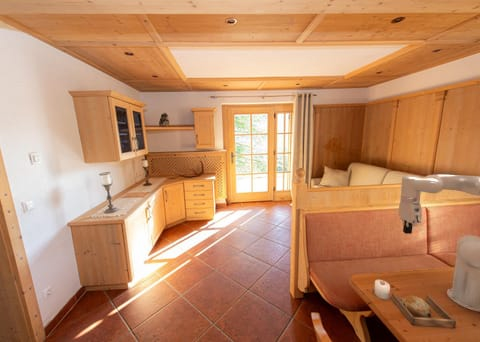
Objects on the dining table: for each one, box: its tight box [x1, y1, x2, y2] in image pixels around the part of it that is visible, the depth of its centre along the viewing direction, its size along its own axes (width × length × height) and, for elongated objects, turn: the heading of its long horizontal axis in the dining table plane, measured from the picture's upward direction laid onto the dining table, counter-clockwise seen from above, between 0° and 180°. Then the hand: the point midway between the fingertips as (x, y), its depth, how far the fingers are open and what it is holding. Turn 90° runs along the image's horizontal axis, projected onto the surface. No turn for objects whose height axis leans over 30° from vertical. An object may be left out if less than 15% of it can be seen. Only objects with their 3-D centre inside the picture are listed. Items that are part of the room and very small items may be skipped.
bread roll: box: [400, 294, 432, 318], centre depth 87 cm, size 10×10×8 cm
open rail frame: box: [390, 292, 457, 329], centre depth 86 cm, size 16×14×3 cm
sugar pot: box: [374, 279, 391, 301], centre depth 96 cm, size 6×6×8 cm
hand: (407, 232), depth 102 cm, fingers closed
